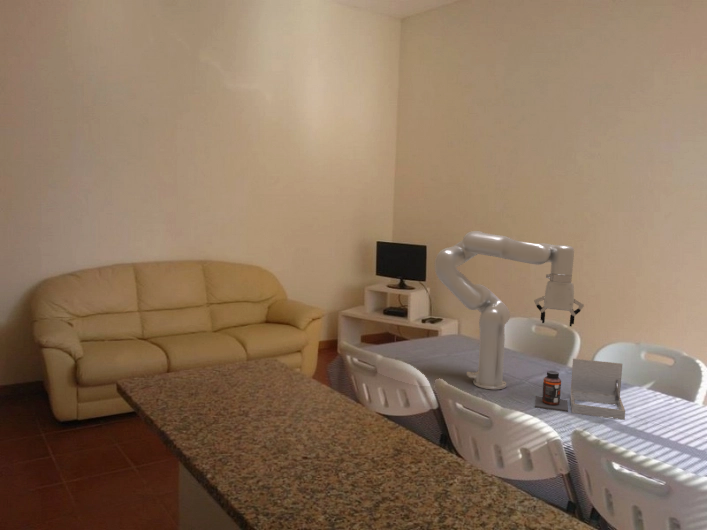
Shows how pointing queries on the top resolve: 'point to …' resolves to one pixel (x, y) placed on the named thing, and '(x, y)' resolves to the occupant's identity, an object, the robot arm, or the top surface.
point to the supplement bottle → (551, 388)
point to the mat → (560, 407)
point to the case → (596, 387)
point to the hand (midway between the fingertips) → (556, 324)
